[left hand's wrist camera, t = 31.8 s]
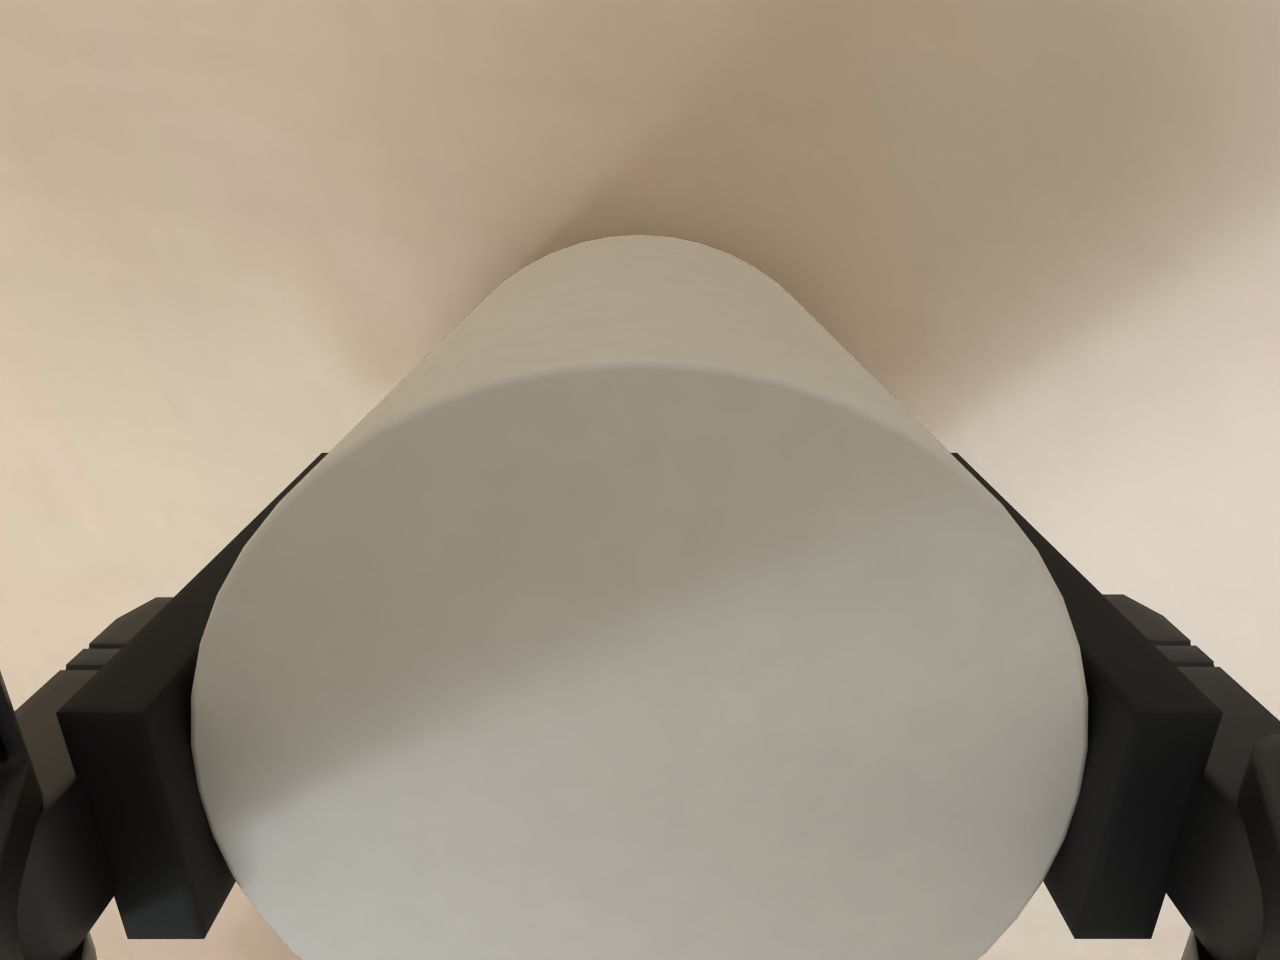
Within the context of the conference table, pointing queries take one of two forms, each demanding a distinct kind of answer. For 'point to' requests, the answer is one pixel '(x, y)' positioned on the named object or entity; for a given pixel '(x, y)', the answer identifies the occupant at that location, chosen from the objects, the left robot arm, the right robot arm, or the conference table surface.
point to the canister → (639, 650)
